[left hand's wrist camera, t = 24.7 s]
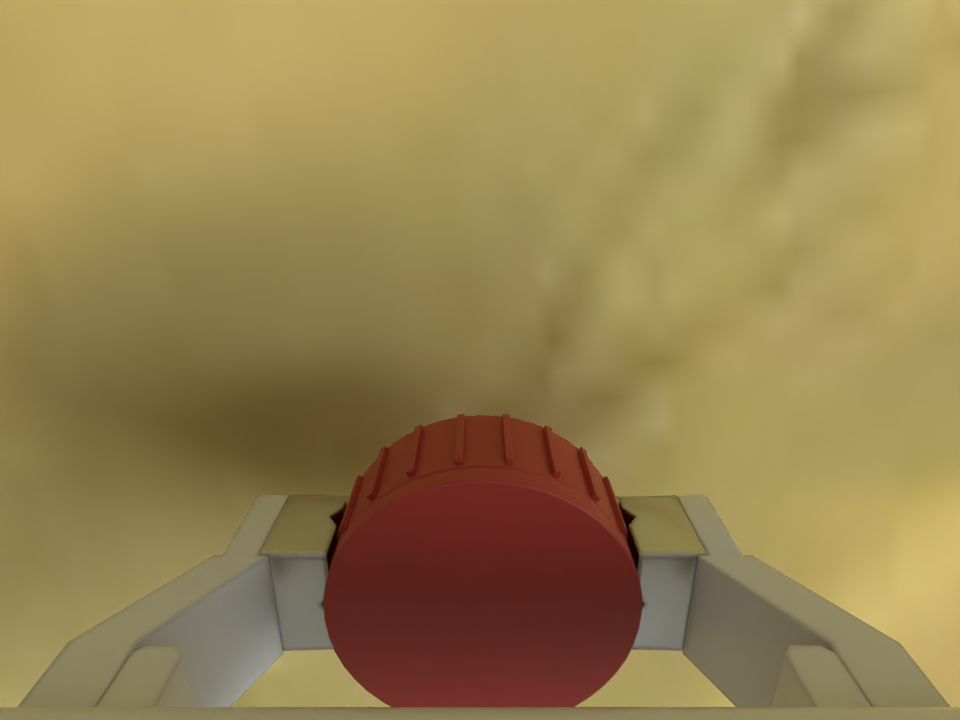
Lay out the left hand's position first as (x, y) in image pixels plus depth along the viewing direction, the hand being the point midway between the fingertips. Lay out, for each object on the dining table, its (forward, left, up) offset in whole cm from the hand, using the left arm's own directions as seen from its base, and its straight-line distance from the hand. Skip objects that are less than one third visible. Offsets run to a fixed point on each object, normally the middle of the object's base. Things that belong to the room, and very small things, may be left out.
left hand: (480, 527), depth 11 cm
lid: (0, 0, +2) cm, 2 cm away
